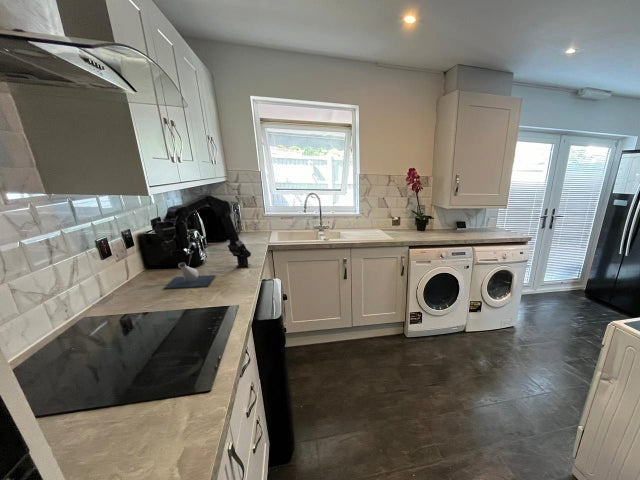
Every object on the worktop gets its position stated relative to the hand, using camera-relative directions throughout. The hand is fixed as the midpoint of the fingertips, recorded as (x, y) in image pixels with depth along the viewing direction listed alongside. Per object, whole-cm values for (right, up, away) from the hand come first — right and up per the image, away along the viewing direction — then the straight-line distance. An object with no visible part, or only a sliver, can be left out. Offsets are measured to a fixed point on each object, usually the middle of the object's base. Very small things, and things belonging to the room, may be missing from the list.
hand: (187, 266), depth 159 cm
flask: (-1, -4, +5) cm, 7 cm away
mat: (-1, -8, +4) cm, 9 cm away
